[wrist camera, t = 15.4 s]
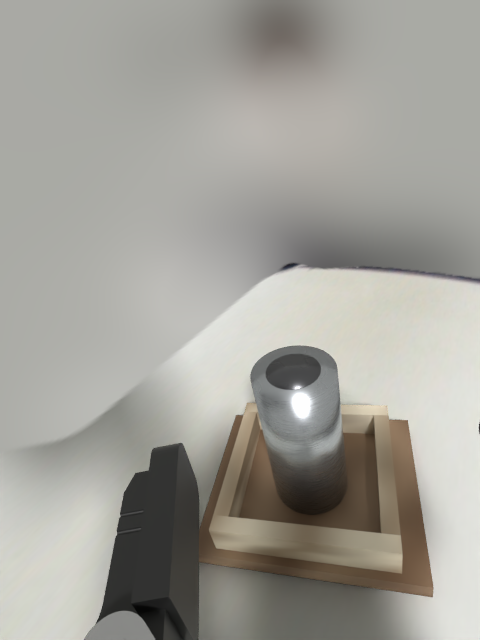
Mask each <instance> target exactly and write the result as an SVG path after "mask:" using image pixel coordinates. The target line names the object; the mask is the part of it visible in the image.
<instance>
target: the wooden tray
mask: <svg viewBox="0 0 480 640" xmlns="http://www.w3.org/2000/svg"><path fill="white" fill-rule="evenodd" d="M341 415H342V426H343V437H344V448H345V459H346V470H347V482H348V486H347V492H346V494H345V497H344V498H343V500H342V501H341V503H340V504H339V505H338V506H336V507H335V508H334V509H332V510H330V511H328V512H326V513H323V514H318V515H307V514H302V513H298V512H296V511H293V510H292V509H290V508H289V507H287V506H286V505H285V504H284V503H283V502H282V500H281V499H280V497H279V495H278V493H277V490H276V486H275V481H274V477H273V473H272V469H271V464H270V460H269V456H268V452H267V447H266V443H265V439H264V435H263V430H262V426H261V422H260V418H259V413H258V409H257V405H256V403H247V405H246V409H245V412H244V415H243V416H242V415H236V418H235V421H234V424H233V427H232V430H231V433H230V436H229V440H228V443H227V446H226V449H225V452H224V455H223V458H222V461H221V464H220V467H219V471H218V474H217V477H216V480H215V483H214V486H213V489H212V492H211V495H210V498H209V502H208V505H207V508H206V511H205V514H204V517H203V520H202V523H201V526H200V529H199V562H201V563H208V564H215V565H221V566H228V567H235V568H242V569H248V570H255V571H262V572H268V573H275V574H282V575H288V576H295V577H302V578H309V579H315V580H322V581H329V582H335V583H342V584H349V585H355V586H362V587H369V588H375V589H382V590H389V591H396V592H402V593H409V594H416V595H422V596H429V597H433V582H432V575H431V569H430V562H429V556H428V549H427V543H426V536H425V530H424V523H423V517H422V510H421V504H420V498H419V491H418V485H417V478H416V472H415V465H414V459H413V452H412V446H411V439H410V433H409V426H408V420H389V417H388V407H387V406H377V405H341Z"/></svg>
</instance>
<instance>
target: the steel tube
mask: <svg viewBox="0 0 480 640" xmlns="http://www.w3.org/2000/svg"><path fill="white" fill-rule="evenodd" d="M251 383H252V388H253V392H254V396H255V401H256V405H257V409H258V413H259V418H260V422H261V426H262V430H263V435H264V439H265V443H266V447H267V452H268V456H269V460H270V464H271V469H272V473H273V477H274V481H275V486H276V490H277V493H278V495H279V497H280V499H281V500H282V502H283V503H284V504H285V505H286V506H287V507H289V508H290V509H292V510H293V511H296V512H298V513H302V514H307V515H318V514H323V513H326V512H328V511H330V510H332V509H334V508H335V507H336V506H338V505H339V504H340V503H341V501H342V500H343V498H344V497H345V494H346V492H347V486H348V482H347V470H346V459H345V448H344V437H343V426H342V415H341V404H340V393H339V382H338V371H337V365H336V362H335V360H334V359H333V358H332V357H331V356H330V355H329V354H328V353H326V352H325V351H323V350H320V349H318V348H314V347H310V346H289V347H284V348H280V349H277V350H274V351H272V352H270V353H268V354H266V355H264V356H263V357H262V358H261V359H259V360H258V361H257V363H256V364H255V365H254V367H253V369H252V371H251Z"/></svg>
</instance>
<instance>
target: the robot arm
mask: <svg viewBox="0 0 480 640" xmlns="http://www.w3.org/2000/svg"><path fill="white" fill-rule="evenodd" d="M479 433H480V424H479ZM120 515H121V517H120V518H119V523H118V528H117V536H116V538H115V544H114V549H113V554H112V559H111V565H110V570H109V575H108V581H107V586H106V591H105V596H104V602H103V606H102V610H101V613H100V616H99V618H98V620H97V622H96V624H95V626H94V627H93V628H92V629H91V630H90V631H89V633H88V634H87V635H86V637H85V639H84V640H198V614H199V493H198V486H197V482H196V478H195V475H194V473H193V470H192V467H191V464H190V462H189V459H188V456H187V454H186V451H185V448H184V446H183V444H182V443H178V444H173V445H168V446H162V447H157V448H154V449H153V450H152V453H151V459H150V467H149V471H144V472H139V473H135V475H134V477H133V478H132V480H131V482H130V483H129V485H128V487H127V489H126V490H125V492H124V496H123V501H122V507H121V512H120Z"/></svg>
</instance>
